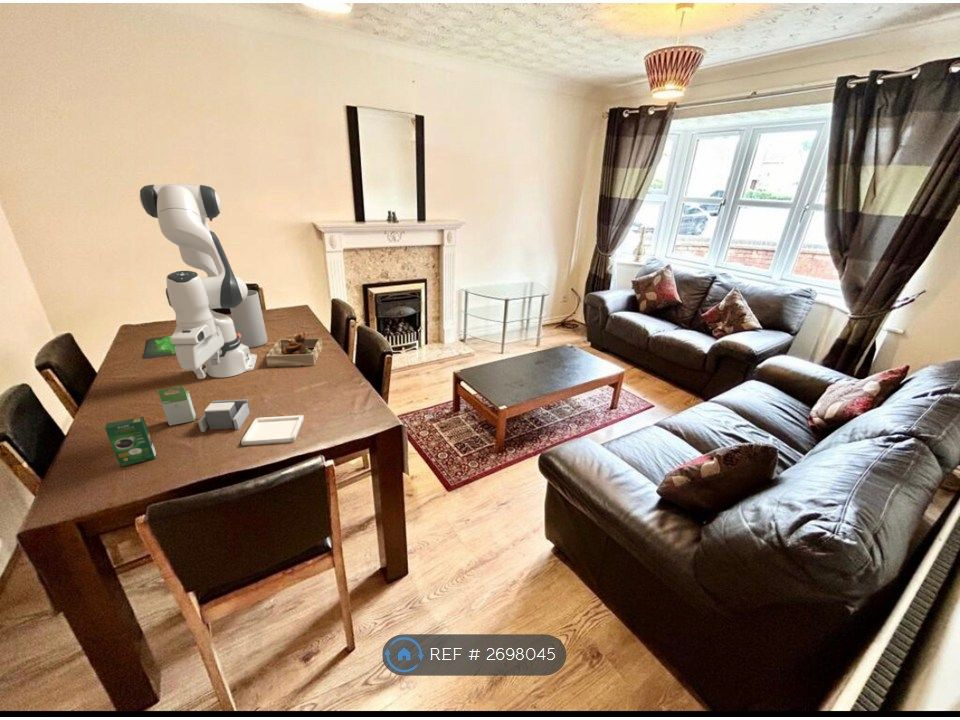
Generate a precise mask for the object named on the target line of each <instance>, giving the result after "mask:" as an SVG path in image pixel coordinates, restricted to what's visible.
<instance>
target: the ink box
mask: <svg viewBox="0 0 960 720" xmlns="http://www.w3.org/2000/svg"><path fill="white" fill-rule="evenodd" d="M170 391H177V392H172V393H167V392H170ZM156 392H157V393H158V396H159V399H160V403H161V407H162V408H163V411H164V412H163V413H164V415H165V417H166V418H165V419H166V421H167V424H168V425H169V427H171V426H175V425H180V424H185V423H186V424H187V423H191V422H195V421H196V417H197V414H196V410H195V408H194V407H195V406H194V404H193V401H192V397H191V394H190V391H189V390H186V389H185V387H184V385H179V386H174V387H168V388H163V389H162V388H161V389H157V391H156Z"/></svg>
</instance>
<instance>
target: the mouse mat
mask: <svg viewBox="0 0 960 720" xmlns="http://www.w3.org/2000/svg"><path fill="white" fill-rule="evenodd" d="M171 336H172V335H166V336H160V337H152V338H148V339H146V343H145V348H144V351H143V354H142V359H143V360H152V359H155V358H164V357H170V356H175V355H176V352H175V346H176V344H172V343H171V340H170V338H171Z"/></svg>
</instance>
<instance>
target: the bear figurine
mask: <svg viewBox="0 0 960 720" xmlns="http://www.w3.org/2000/svg"><path fill="white" fill-rule="evenodd" d="M305 335H306V332H303V333H298V334H294V335H293V336H292V338H291V339H292V340H288V342H289V345H286V347H285V348H283V349H282V351H281V352H280V354H279V355H293V354H311V353H312V351H313V349H306V347H305V341H304V340H305V338H306V336H305Z"/></svg>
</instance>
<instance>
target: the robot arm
mask: <svg viewBox="0 0 960 720" xmlns="http://www.w3.org/2000/svg"><path fill="white" fill-rule="evenodd" d="M139 202H140V204H141V206H142V208H143V210H144V211H145V212H146V215H147V214H148V215H149V216H150V217H152V218H154V219H157V221H158V226H159V228H160V232H161V233H162V235H163V236H164V238H165V239H167V240H168V241H169V242H171V243H173V244H174V245H175V246H178V251H179V253H180V257H181V260H182V262H183V263H184V264H185V265H187V266H188V267H191V268H194V269H197V270H200V271H203V272H204V273H206V275H207V276H204V277H203V276H202V277H201V276H200V275H199V273H198V272H195V271H193V270H178V271H174V272H171V273H169V274H168V275H166V288H165V295H166V299H167V303H168V305H169V307H171V308H172V309H173V311H174V313H175V322H176V327H175V329H174V331H173V333H172V335H170V336H171V338H170V340H171V343H172V344H176V346H175V352H176V358H177V361H178V364H179V366H180V368H181V369H182V370H183V371H193V372H194V374H196V377H197V379H199V380H200V379H201V380H202V379H205V378H206V376H207V374H208V375H209V376H210V377H212V378H228V377H234V376H237V375H241V374H243V373H245V372H250V371H253V370H254V369H255V365H256V362H257V359H258V355H257V354H254V353H251V351H250V348H249V347H248V346H246V345H244V344H242V343H241V342H240V340H239V338H241V334H236V332H235V327H234V323H233V319H232V317H230V316H228V315H227V314H224V313H220V312H218V311H217V312H216V311H214V309H230V308H235V307H237V306H238V305H239V304H240V303H241V302H242V301H244V300H245V299H246V297H247V294H248V290H249V288H248V286H247V284H246V283H245V282H244V280H243V279H242V278H241V277H239V276H236V275H235V274H234V272H233V269H232V266H231V264H230V262H229V259H228V258H227V257H228V256H227V255H226V252H225V250H224V248H223V246H222V244H221V241H220V239H219V237H218V235H216V233H215V232H214V231H212V230H211V227H210V225H209V223H208V220H209V221H210V222H213V219H215V218H217V217H218V216H219V215H220V214H221V209H222V201H221V198H220V197H219V194H218V193H217V191H216V190H215V189H214V188H213V187H212V186H209V185H204V184H200V185H196V184H189V183H188V184H187V183H177V184H175V183H174V184H173V183H172V184H171V183H170V184H156V185H155V184H149V185H144V186H143V187H141V188H140V190H139ZM207 218H208V220H207ZM204 364H205V367H204V368H203V365H204ZM202 368H203V369H202Z"/></svg>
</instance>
